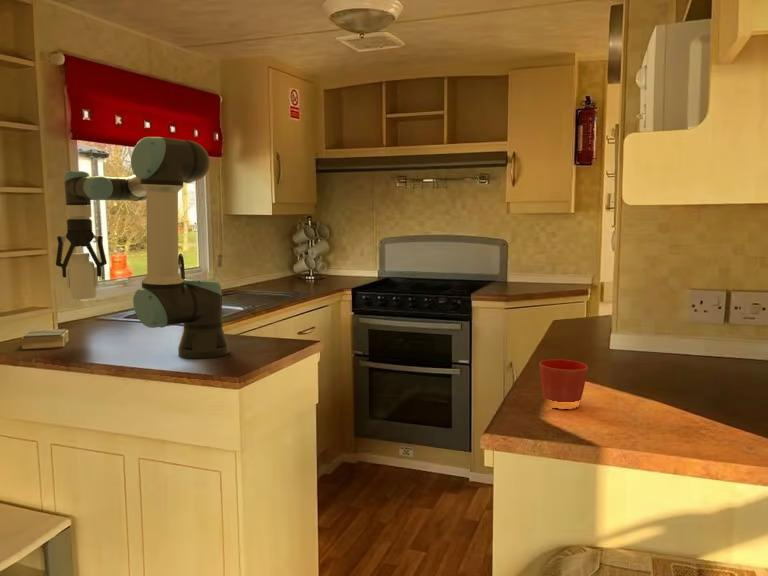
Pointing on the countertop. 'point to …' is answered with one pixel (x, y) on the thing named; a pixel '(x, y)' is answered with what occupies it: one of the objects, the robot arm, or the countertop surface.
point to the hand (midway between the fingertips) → (82, 286)
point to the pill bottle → (82, 277)
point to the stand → (45, 338)
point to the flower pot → (563, 380)
